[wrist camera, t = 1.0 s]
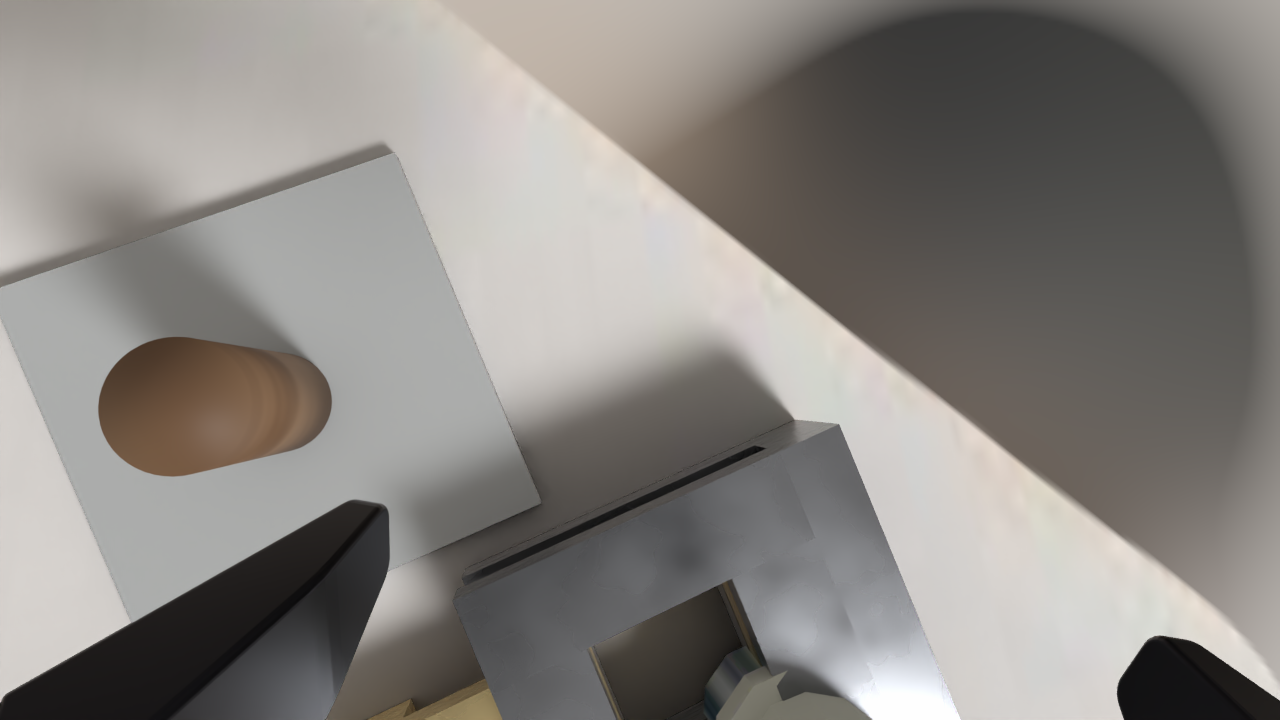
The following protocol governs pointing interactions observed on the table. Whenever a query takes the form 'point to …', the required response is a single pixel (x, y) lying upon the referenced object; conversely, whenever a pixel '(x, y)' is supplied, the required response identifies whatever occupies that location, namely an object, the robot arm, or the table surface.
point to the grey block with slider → (705, 589)
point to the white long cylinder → (765, 695)
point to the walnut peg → (209, 405)
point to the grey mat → (289, 323)
